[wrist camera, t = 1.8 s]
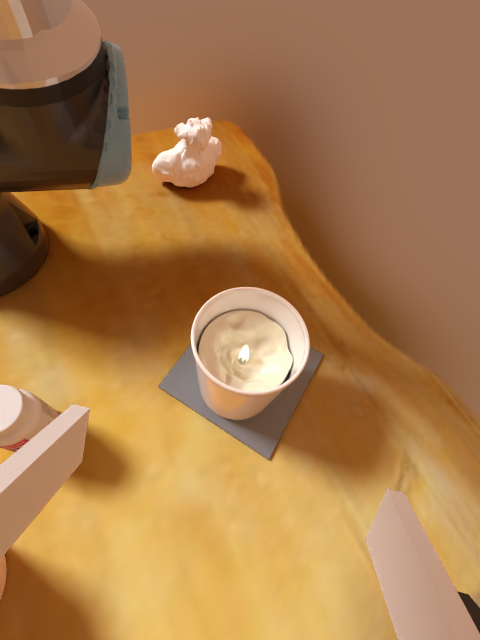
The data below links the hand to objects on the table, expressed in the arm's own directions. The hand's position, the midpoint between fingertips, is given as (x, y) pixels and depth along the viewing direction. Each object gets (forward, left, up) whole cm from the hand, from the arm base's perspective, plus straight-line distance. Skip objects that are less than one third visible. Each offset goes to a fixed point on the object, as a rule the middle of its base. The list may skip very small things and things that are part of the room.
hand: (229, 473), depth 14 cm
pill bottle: (-18, -4, -21) cm, 28 cm away
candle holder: (-4, +11, -21) cm, 23 cm away
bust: (-28, +36, -21) cm, 50 cm away
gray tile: (-4, +13, -21) cm, 25 cm away
